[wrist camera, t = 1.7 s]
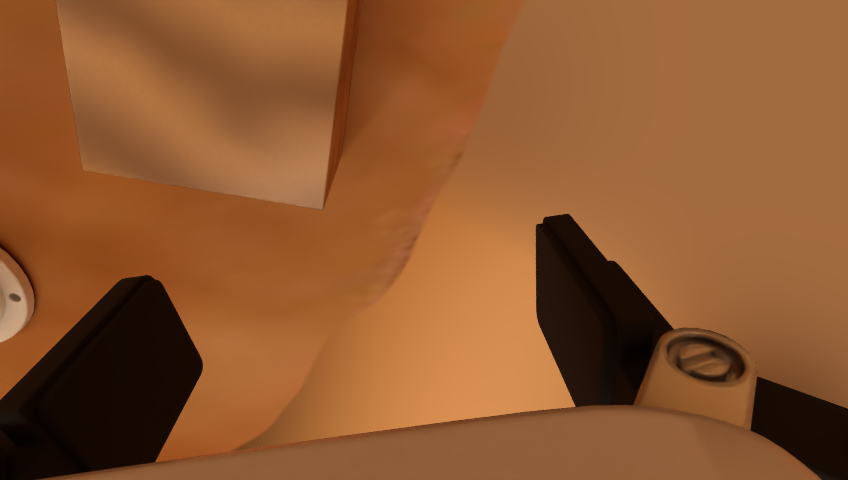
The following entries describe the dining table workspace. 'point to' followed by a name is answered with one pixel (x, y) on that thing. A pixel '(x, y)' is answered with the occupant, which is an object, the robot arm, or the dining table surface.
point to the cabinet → (213, 92)
